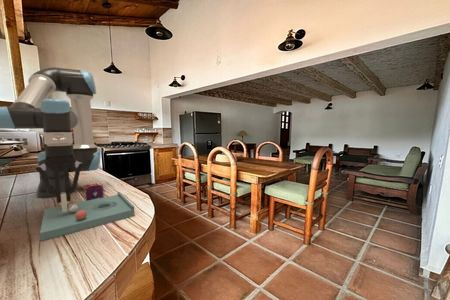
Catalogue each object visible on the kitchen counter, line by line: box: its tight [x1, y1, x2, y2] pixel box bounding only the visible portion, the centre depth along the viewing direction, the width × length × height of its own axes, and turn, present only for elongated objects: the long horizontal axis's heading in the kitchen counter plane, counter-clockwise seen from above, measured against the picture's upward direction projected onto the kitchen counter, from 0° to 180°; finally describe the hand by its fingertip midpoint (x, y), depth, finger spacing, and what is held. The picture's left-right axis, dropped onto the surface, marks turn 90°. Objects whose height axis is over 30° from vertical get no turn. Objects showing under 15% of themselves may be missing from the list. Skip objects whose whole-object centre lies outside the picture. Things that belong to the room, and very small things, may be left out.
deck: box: [39, 191, 135, 242], centre depth 74 cm, size 24×26×4 cm
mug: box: [85, 184, 105, 201], centre depth 91 cm, size 7×10×7 cm
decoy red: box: [75, 210, 87, 220], centre depth 65 cm, size 3×3×3 cm
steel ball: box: [67, 203, 78, 213], centre depth 70 cm, size 3×3×3 cm
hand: (64, 210), depth 69 cm, fingers closed
